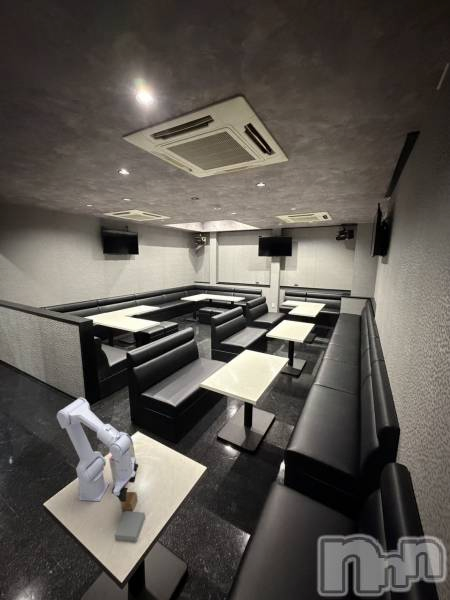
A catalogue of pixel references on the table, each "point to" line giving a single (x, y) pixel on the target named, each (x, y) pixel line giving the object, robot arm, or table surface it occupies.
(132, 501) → the walnut block
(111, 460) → the candy bar box
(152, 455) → the table surface
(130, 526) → the slate coaster
